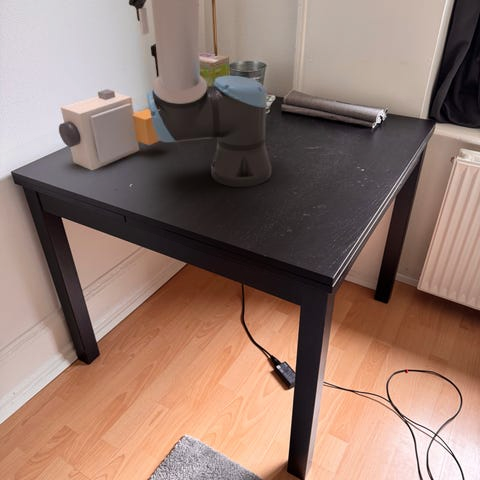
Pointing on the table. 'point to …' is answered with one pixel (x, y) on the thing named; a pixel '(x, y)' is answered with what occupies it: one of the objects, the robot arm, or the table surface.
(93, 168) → the camera housing
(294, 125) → the table surface
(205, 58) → the tea box
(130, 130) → the side door
